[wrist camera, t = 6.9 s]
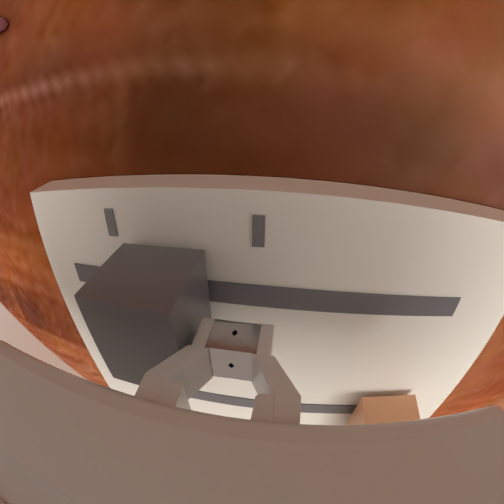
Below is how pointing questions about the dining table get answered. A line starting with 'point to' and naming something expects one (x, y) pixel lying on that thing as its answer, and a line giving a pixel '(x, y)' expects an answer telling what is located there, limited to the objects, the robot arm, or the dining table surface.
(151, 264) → the block
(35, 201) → the fader panel
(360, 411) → the block
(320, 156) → the dining table surface
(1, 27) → the video game controller
